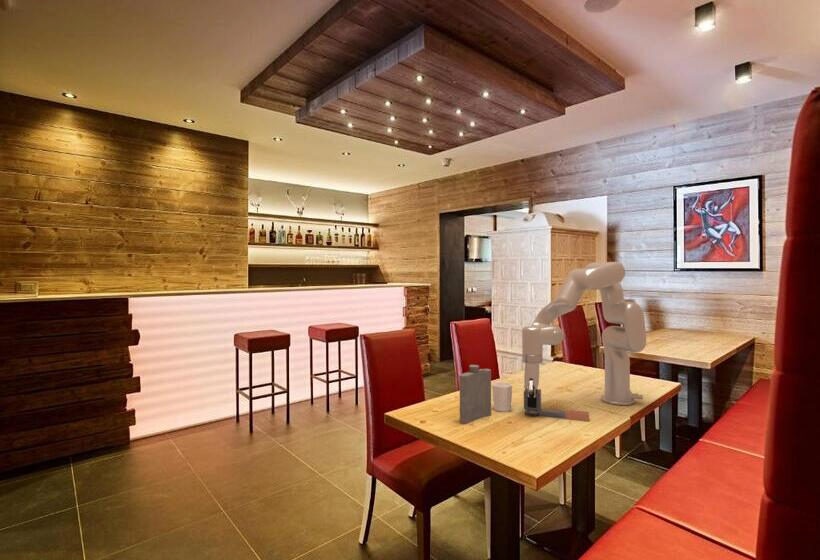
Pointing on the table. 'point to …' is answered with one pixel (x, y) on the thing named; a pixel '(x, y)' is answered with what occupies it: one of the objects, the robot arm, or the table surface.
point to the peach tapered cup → (502, 396)
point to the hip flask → (475, 394)
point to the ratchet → (560, 414)
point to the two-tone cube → (538, 400)
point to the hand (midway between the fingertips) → (532, 404)
